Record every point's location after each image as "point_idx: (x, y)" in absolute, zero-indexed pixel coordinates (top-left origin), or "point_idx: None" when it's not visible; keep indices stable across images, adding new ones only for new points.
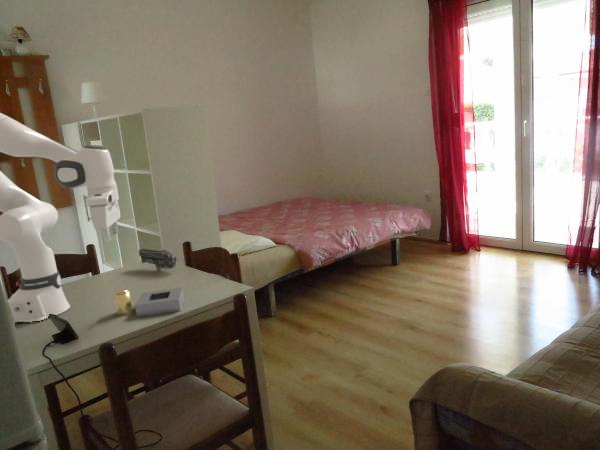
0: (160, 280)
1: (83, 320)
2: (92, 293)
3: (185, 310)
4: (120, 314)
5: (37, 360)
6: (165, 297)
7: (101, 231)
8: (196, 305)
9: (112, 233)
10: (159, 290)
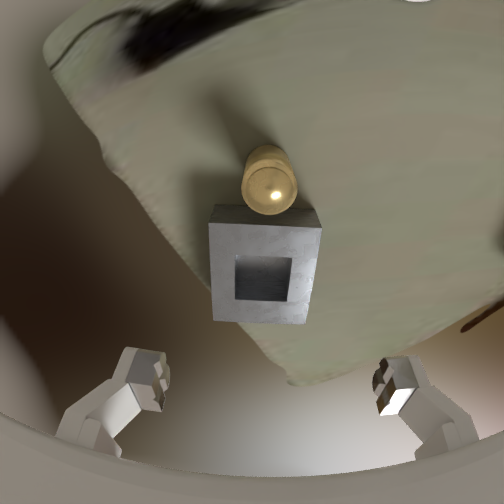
0: (483, 236)
1: (277, 46)
2: (491, 64)
3: None
4: (247, 159)
5: (61, 35)
6: (287, 279)
7: (67, 417)
8: None
9: (386, 370)
10: (313, 275)
